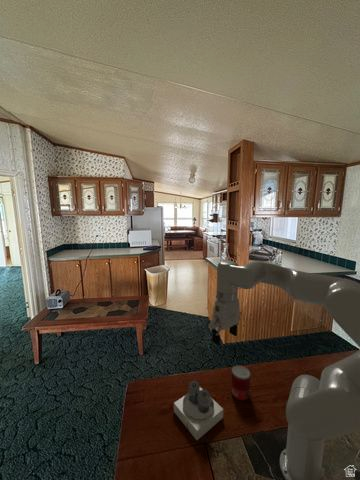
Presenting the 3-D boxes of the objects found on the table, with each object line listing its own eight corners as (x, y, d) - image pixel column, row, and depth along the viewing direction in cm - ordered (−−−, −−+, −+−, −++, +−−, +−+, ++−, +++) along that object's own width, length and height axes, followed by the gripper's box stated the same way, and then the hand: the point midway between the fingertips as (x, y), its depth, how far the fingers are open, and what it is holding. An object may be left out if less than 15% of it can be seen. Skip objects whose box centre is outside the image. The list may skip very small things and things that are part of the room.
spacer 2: (211, 409, 82) (212, 395, 81) (203, 415, 79) (203, 401, 79) (203, 401, 85) (204, 387, 85) (195, 407, 83) (195, 393, 82)
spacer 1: (201, 399, 86) (201, 385, 86) (193, 405, 84) (193, 391, 83) (194, 391, 90) (194, 379, 89) (186, 397, 87) (186, 384, 86)
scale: (222, 417, 84) (223, 408, 84) (196, 441, 75) (196, 430, 75) (198, 393, 95) (199, 385, 94) (173, 411, 86) (173, 402, 86)
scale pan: (220, 407, 84) (220, 405, 84) (197, 426, 76) (197, 424, 76) (199, 387, 93) (199, 385, 93) (176, 402, 86) (176, 400, 86)
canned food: (250, 402, 91) (251, 379, 90) (231, 399, 93) (232, 376, 91) (248, 388, 99) (249, 366, 97) (230, 385, 100) (231, 364, 99)
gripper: (218, 304, 69) (216, 353, 71) (249, 293, 79) (247, 335, 81) (202, 297, 74) (201, 342, 77) (233, 287, 85) (231, 327, 87)
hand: (224, 338), depth 79 cm, fingers open, 9 cm apart
